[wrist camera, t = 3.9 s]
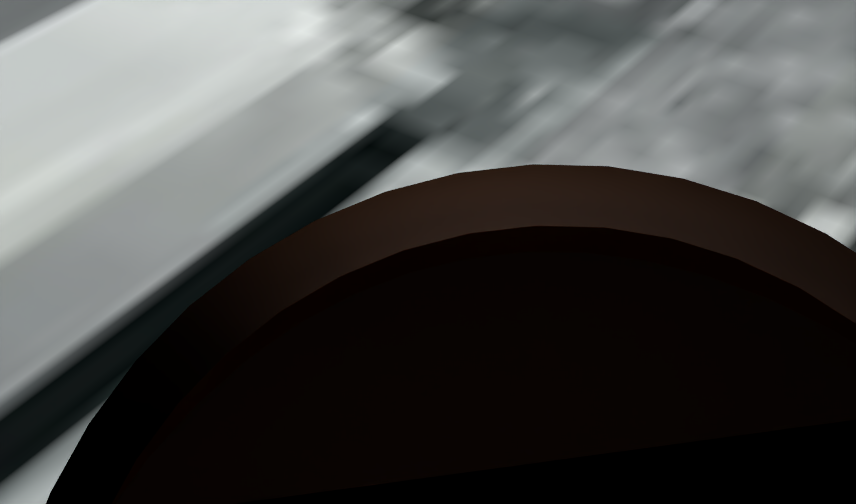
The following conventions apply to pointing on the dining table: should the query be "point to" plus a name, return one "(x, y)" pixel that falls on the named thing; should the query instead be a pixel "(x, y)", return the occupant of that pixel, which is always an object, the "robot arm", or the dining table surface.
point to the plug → (503, 355)
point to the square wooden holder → (454, 488)
